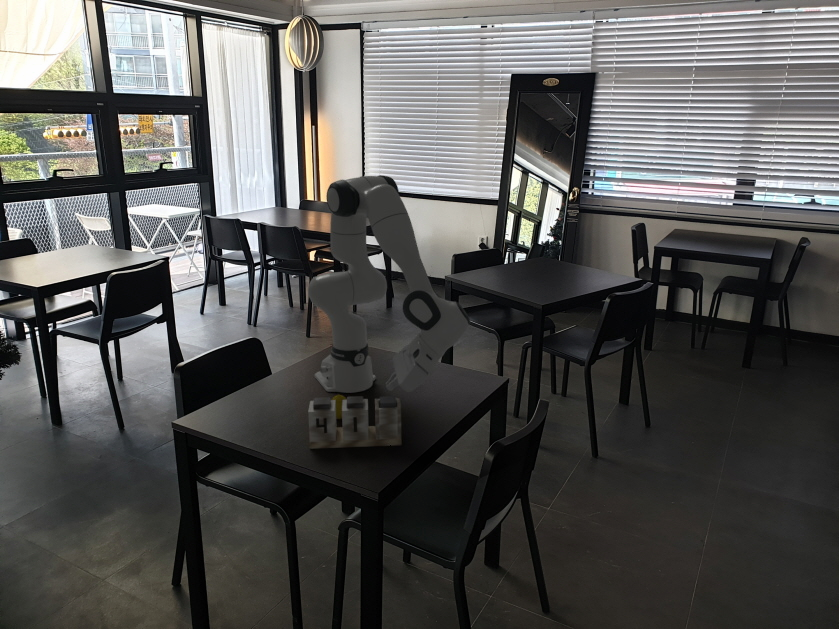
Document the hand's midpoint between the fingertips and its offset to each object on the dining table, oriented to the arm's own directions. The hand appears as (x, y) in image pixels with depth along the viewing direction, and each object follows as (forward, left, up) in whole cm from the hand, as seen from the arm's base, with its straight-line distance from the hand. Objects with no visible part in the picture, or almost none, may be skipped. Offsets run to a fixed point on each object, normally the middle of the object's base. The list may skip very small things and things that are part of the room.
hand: (387, 387), depth 177 cm
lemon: (-18, -5, -16) cm, 25 cm away
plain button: (0, 0, -10) cm, 10 cm away
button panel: (-5, -8, -15) cm, 18 cm away
